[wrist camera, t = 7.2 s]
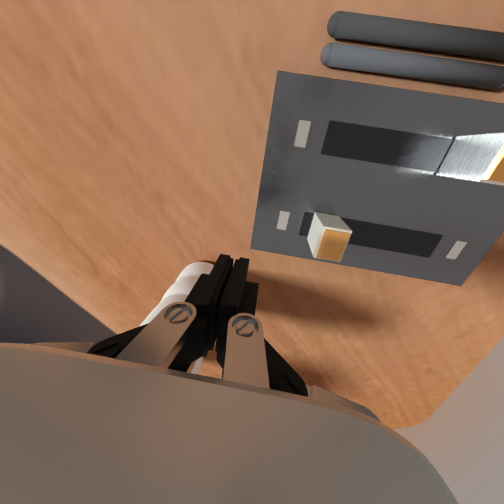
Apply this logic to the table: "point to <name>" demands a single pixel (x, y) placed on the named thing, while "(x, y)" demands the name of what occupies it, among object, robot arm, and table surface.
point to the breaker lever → (328, 237)
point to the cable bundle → (416, 38)
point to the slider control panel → (383, 175)
